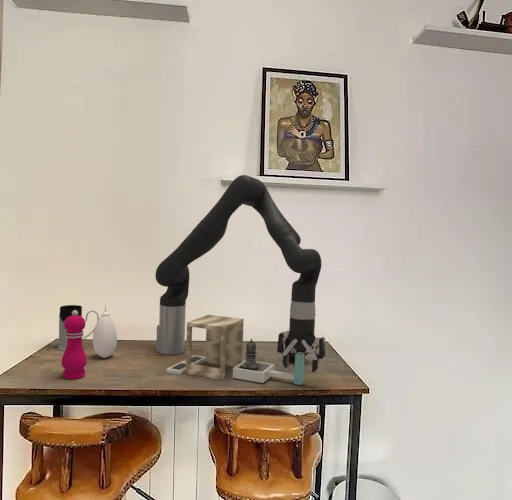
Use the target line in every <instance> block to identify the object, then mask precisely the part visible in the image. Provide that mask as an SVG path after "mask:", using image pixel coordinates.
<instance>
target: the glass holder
mask: <svg viewBox="0 0 512 500" xmlns="http://www.w3.org/2000/svg"><path fill="white" fill-rule="evenodd" d="M74 310H76V311H78V315H79V316H81V317H83V306H81V305H78V304H68V305H67V304H66V305H62V306H60V307H59V314H58V317H59V318H58V321H59V322H58V346H57V350H58V351H62V352H65V350H66V347H67V337H66V332H67V330H66V329H65V328H64V322H65V320H66V318H68V317H69V316H72V311H74ZM89 313H95V314H96V316H97V317H96V319H97V320H96V322H97V321H98V319H99V318H100V316H99V314H98V312H97V311H95V310H89V311H88V312H87V313H86V315H85V319H84V320H85V323H86V322H87V321H88V315H89ZM94 329H95V327H94V328H93V330H92V331H91V332H89V333H88V334H87V335H86V336H84V337H82V346H83V342H84V340H85V339H86V338H87V337H89V336H90V335H91V334H93V333H94ZM83 347H84V346H83Z"/></svg>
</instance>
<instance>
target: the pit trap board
mask: <svg viewBox="0 0 512 500" xmlns="http://www.w3.org/2000/svg"><path fill="white" fill-rule="evenodd" d="M205 358H206V356H203V355H202V356H201V355H197V354H196V355H191V364H196V365H201V364H202V363H204V362H205ZM165 372H166V373H168V374H173V375H178V376H179V375H182V374H183V373H186V359H184V360H182V361H179V362H177V363H176V364H174V365H172V366H169V367H168V368H165Z"/></svg>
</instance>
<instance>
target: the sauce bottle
mask: <svg viewBox="0 0 512 500" xmlns="http://www.w3.org/2000/svg"><path fill="white" fill-rule="evenodd" d="M100 315H101V316H99V319H98V321H97V320H96V323H95V325H94V328H95V329H94V328H93V330H94V331H93V332H92V346H93V349H94V351H95V353H96V355H97V356H99V357H100V358H102V359H107V358H109V357H110V356H111V355H112V354H114V352H115V350H116V347H117V344H118V333H117V328H116V325H115V323H114V320H113V318H112V317H111V315H110V313H109V312H107V306H106V305H105V306H104V312H102V313H101V314H100Z"/></svg>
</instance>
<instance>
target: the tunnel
mask: <svg viewBox="0 0 512 500" xmlns="http://www.w3.org/2000/svg"><path fill="white" fill-rule="evenodd" d="M244 322H245V320H244V318H239V317H238V318H237V317H231V316H230V317H229V316H223V315H213V314H207V315H204V316H202V317H201V316H200V317H198V318H195V319H193V320H190V321H187V322H186V344H185V345H186V346H185V347H186V349H185V360H186V372H185V374H187V375H192V376H197V377H203V378H209V379H215V380H220V381H224V380H225V379H226V367H229V368H234V367H236V366H237V365H239V364H240V363H242V362H243V346H244V345H243V344H244V343H243V342H244ZM193 328H195V329H196V328H197V329H206V333H205V334H206V335H205V357H206V358H205V361H204V362H205V364H210V365H212V364H213V365H217V366H219V368H218V367H214V366H213V367H212V366H209V365H208V366H206V365H201V364H199V365H196V364H191V357H192V347H193V345H192V344H193V343H192V340H193V339H192V338H193Z"/></svg>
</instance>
